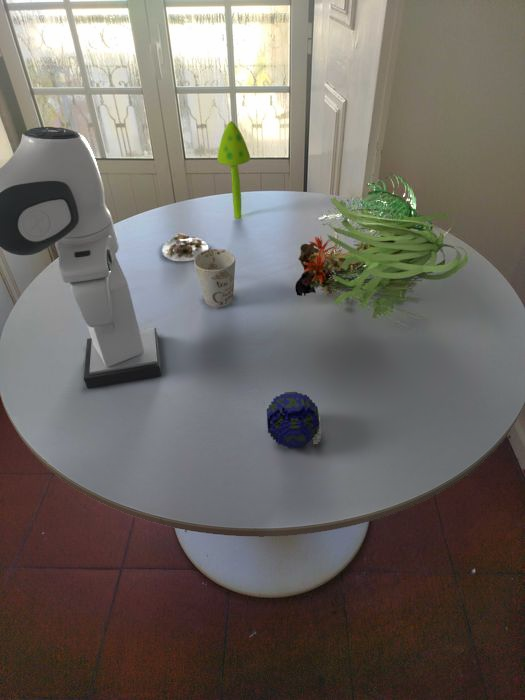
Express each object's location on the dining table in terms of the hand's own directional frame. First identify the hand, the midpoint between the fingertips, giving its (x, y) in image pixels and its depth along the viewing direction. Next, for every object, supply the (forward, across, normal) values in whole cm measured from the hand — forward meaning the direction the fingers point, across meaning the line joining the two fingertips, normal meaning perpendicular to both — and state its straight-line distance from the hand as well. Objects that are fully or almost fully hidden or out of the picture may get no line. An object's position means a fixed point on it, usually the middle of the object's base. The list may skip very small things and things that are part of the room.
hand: (109, 313), depth 80 cm
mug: (+12, -17, +20) cm, 29 cm away
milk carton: (+8, 0, 0) cm, 8 cm away
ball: (+12, +24, +26) cm, 37 cm away
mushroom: (+12, -52, +31) cm, 62 cm away
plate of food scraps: (+12, -38, +15) cm, 42 cm away
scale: (+11, 0, 0) cm, 11 cm away
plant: (+12, -10, +51) cm, 53 cm away
